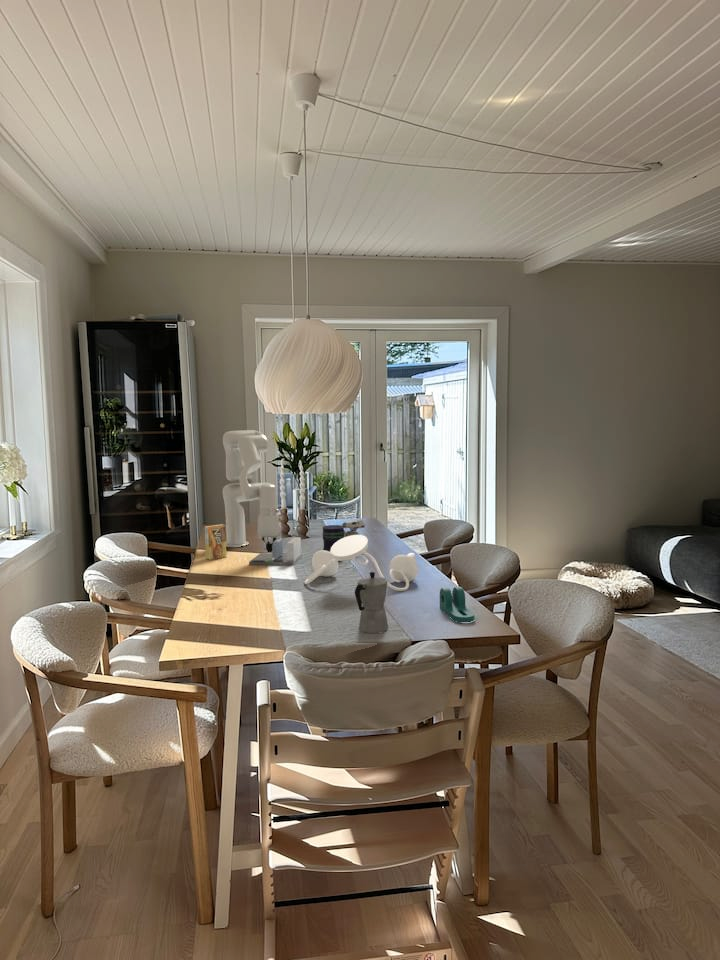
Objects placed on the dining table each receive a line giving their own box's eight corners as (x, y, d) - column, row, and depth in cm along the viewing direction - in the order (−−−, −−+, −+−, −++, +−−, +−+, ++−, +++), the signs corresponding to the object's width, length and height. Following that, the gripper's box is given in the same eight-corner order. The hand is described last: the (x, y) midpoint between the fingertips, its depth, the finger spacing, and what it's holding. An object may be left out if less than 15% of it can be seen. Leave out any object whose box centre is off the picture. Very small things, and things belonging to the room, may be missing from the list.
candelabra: (398, 559, 240) (424, 521, 274) (283, 553, 256) (321, 518, 289) (403, 611, 246) (428, 567, 280) (290, 602, 262) (326, 561, 295)
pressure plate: (279, 553, 316) (278, 539, 315) (282, 553, 316) (282, 539, 315) (271, 560, 302) (270, 545, 301) (274, 560, 301) (274, 545, 301)
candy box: (222, 555, 323) (221, 524, 322) (227, 557, 320) (225, 525, 318) (205, 558, 318) (204, 526, 316) (209, 560, 314) (208, 527, 313)
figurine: (368, 552, 323) (368, 521, 321) (344, 554, 321) (344, 522, 319) (364, 548, 332) (363, 518, 330) (341, 550, 330) (340, 519, 328)
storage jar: (333, 562, 304) (332, 529, 302) (318, 559, 310) (317, 527, 309) (349, 558, 311) (348, 526, 309) (334, 556, 317) (333, 524, 316)
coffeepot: (373, 620, 220) (372, 565, 218) (397, 625, 214) (396, 569, 212) (344, 634, 208) (342, 576, 206) (369, 639, 202) (368, 580, 200)
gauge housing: (260, 556, 320) (259, 536, 319) (302, 556, 318) (301, 536, 317) (249, 565, 303) (248, 544, 302) (293, 565, 300) (292, 544, 299)
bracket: (439, 608, 232) (439, 586, 231) (458, 607, 233) (458, 584, 232) (457, 624, 214) (456, 600, 214) (477, 623, 216) (477, 598, 215)
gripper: (286, 510, 311) (288, 550, 313) (254, 510, 313) (256, 550, 315) (282, 513, 303) (283, 553, 305) (249, 513, 306) (251, 553, 307)
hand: (269, 551), depth 310 cm, fingers closed
